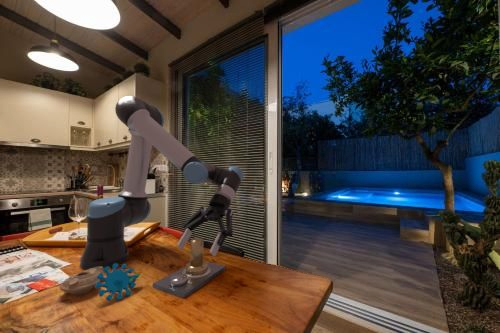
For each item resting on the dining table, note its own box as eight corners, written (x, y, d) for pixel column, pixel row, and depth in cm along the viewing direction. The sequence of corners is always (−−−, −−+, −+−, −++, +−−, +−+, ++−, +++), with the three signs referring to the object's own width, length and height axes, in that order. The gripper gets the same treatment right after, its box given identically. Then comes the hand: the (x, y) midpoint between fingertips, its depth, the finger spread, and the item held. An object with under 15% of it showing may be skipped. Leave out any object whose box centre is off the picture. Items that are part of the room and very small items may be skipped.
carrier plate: (152, 287, 63) (152, 279, 63) (198, 263, 81) (198, 256, 81) (184, 298, 58) (184, 289, 58) (225, 269, 76) (225, 262, 76)
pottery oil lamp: (115, 276, 69) (117, 259, 67) (82, 311, 58) (84, 292, 56) (89, 266, 70) (91, 249, 67) (52, 299, 58) (52, 280, 56)
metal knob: (180, 272, 70) (181, 241, 70) (195, 264, 76) (196, 235, 76) (198, 277, 67) (198, 244, 67) (212, 268, 73) (212, 238, 73)
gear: (98, 303, 53) (95, 264, 58) (90, 314, 55) (88, 276, 60) (144, 292, 61) (138, 258, 66) (136, 302, 63) (131, 269, 69)
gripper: (254, 207, 81) (232, 263, 67) (201, 203, 92) (173, 250, 78) (247, 194, 76) (222, 251, 62) (192, 191, 88) (161, 239, 74)
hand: (195, 250), depth 70 cm, fingers open, 13 cm apart
